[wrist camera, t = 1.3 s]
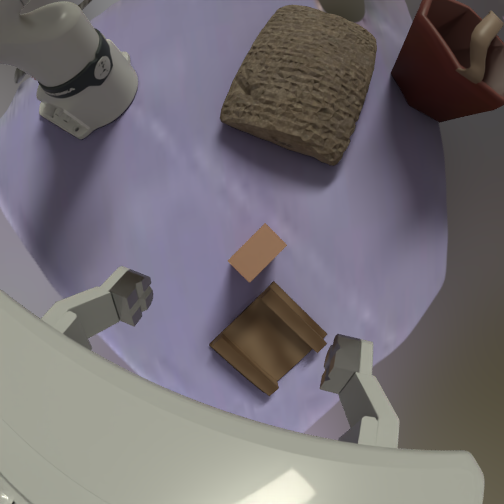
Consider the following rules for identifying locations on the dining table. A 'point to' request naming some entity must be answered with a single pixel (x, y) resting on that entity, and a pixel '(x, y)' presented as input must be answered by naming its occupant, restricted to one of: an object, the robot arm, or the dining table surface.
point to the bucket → (451, 61)
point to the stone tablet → (303, 82)
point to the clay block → (257, 253)
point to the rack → (269, 338)
